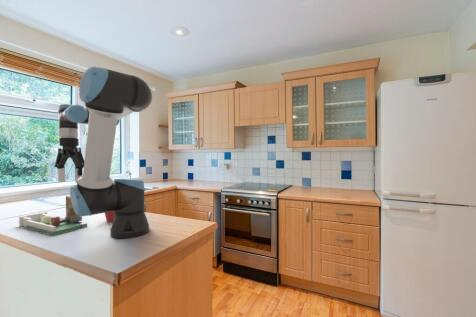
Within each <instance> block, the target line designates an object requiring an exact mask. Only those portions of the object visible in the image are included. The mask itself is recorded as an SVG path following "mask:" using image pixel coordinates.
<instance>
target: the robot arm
mask: <svg viewBox="0 0 476 317" xmlns="http://www.w3.org/2000/svg"><path fill="white" fill-rule="evenodd" d="M78 88H79V90H78V91H79V93H78V97H79V100H80V101H82V102H83V103H84V106H83V105H80V104H69V103H68V104H67V103H63V104H59V105H58V111H57V113H58V137H59V141H58V144H59V146H60V147H58V149H57V156H56V159H55V163H54V168H56V169H57V177H58V178H57V180H58V183H64V182H66V167H65V165H66V164H67V161H68V160H69V159H71V160H72V162H73V164H74V166H75V167H74V170H75V171H74V172H75V174H74V175H75V179H74V180H75V185H71V186H70V189H69V196H70V198H71V203H72V206H73V209H74V212H75V213H76V214H77V215H78V216H82V217H88V216H89V217H91V216H95V215H98V214H105V213H106V212H111V211H115V218H114V221H113V222H112V225H111V227H110V230H109V231H110V237H112V238H114V239H130V238H136V237H139V236H143V235H145V234H147V233H149V231H150V224H149V221H148V218H147V215H146V212H145V204H146V203H145V200H146V199H145V194H146V193H145V191H146V190H145V183H144V181H143V180H141V179H139V178H138V179H136V178H122V177H121V178H120V177H119V178H117V177H116V178H114V179H112V178H111V177H110V176H111V170H112V169H111V168H112V163H113V162H112V161H113V154H114V146H115V140H116V132H117V126H118V125H119V124H120V120H121V119H123V118H125V117H128V116H129V115H131V114H132V113H138V112H139V113H140V112H143V111H145V110H146V109H147V108H149V106H150V105H151V103H152V101H153V100H152V99H153V93H152V89H151V87H150V86H149V84H148V83H147V82H146V81H145V80H144V79H142V78H140V77H138V76H136V75H132V74H128V73H123V72H120V71H116V70H112V69H108V68H105V67H98V66H90V67H88V68H87V69H85V71H84V72H83V74H82V77H81V79H80V83H79V87H78ZM79 124H84V125H87V135H86V141H85V142H86V144H85V150H84V151H85V153H84V155H83V154H82V148H81V147H79V145H80V141H79ZM61 147H62V148H61Z"/></svg>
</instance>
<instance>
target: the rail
mask: <svg viewBox="0 0 476 317" xmlns="http://www.w3.org/2000/svg"><path fill="white" fill-rule="evenodd" d="M63 219H65V217H63V218H62V217H60V220H63ZM74 223H75V224H80V225H81V228H80V229H82V228H86V227H88V223H87V222H83V221H78V222H74Z"/></svg>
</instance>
